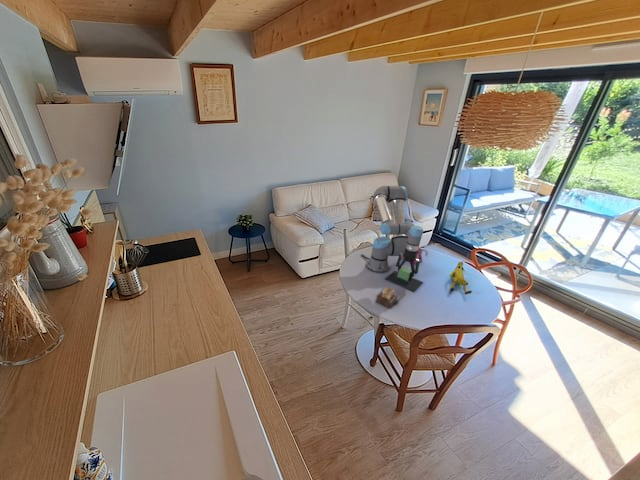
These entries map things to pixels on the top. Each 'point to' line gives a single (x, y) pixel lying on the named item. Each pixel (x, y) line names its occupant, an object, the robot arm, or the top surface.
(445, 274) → the top surface
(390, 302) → the walnut block
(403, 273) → the green block
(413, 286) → the mat
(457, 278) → the figurine
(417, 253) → the toy
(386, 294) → the beech block
